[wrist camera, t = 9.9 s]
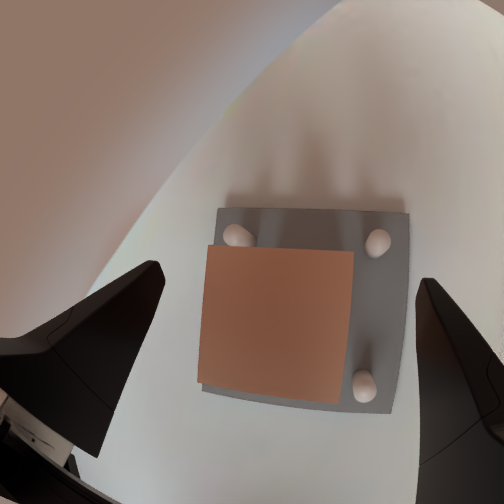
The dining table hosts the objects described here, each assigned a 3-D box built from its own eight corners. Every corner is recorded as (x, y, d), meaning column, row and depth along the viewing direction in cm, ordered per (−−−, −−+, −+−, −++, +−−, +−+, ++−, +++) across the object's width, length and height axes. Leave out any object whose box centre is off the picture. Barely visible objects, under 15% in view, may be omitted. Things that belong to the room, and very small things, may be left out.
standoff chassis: (405, 217, 17) (419, 201, 14) (388, 408, 16) (397, 430, 12) (223, 211, 20) (201, 196, 17) (208, 387, 19) (183, 402, 16)
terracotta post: (345, 273, 17) (353, 251, 8) (338, 350, 16) (338, 403, 8) (270, 269, 18) (208, 244, 9) (264, 343, 17) (197, 382, 9)
